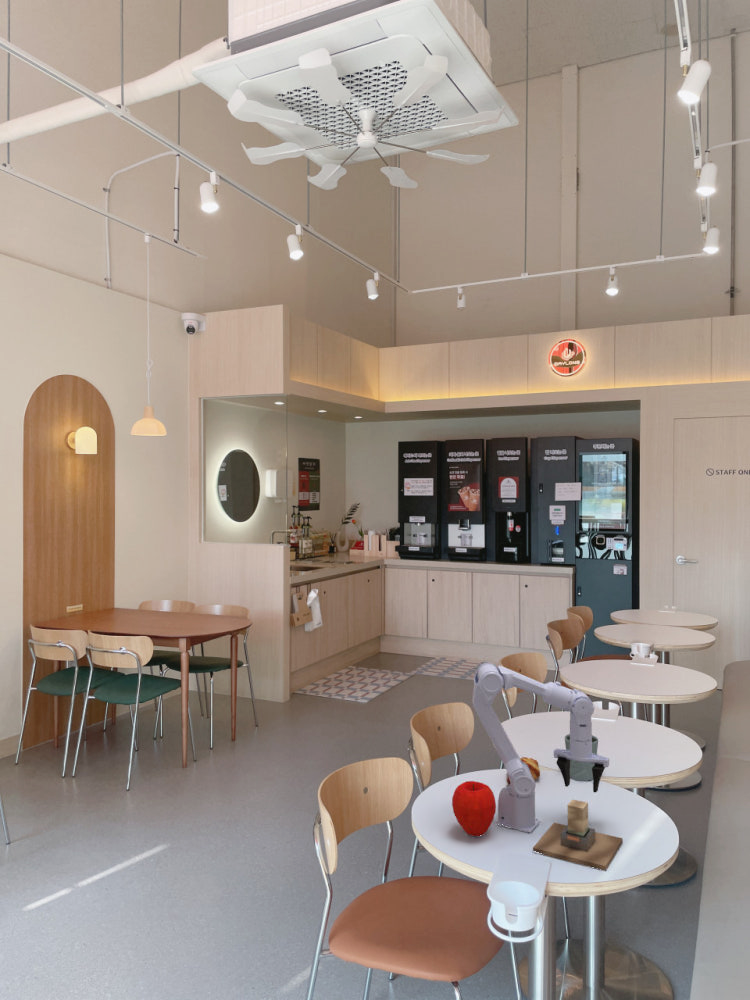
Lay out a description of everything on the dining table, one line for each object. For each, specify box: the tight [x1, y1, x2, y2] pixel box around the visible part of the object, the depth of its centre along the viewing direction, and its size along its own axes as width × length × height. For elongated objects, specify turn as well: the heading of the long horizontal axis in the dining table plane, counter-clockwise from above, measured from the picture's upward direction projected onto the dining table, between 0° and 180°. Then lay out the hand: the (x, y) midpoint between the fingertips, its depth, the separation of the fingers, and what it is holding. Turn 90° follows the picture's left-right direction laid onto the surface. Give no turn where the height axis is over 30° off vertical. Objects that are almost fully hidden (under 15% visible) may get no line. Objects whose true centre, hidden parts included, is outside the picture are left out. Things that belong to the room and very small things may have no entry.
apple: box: [451, 780, 497, 837], centre depth 199 cm, size 12×12×13 cm
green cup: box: [564, 733, 599, 782], centre depth 236 cm, size 10×10×12 cm
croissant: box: [506, 756, 541, 786], centre depth 235 cm, size 21×10×8 cm, turn 149°
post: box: [567, 799, 590, 836], centre depth 190 cm, size 4×4×7 cm
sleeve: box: [561, 824, 596, 852], centre depth 190 cm, size 7×7×3 cm
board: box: [532, 822, 624, 872], centre depth 190 cm, size 18×16×1 cm
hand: (581, 788), depth 202 cm, fingers open, 7 cm apart
